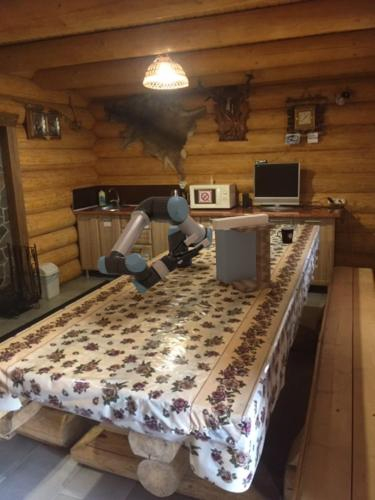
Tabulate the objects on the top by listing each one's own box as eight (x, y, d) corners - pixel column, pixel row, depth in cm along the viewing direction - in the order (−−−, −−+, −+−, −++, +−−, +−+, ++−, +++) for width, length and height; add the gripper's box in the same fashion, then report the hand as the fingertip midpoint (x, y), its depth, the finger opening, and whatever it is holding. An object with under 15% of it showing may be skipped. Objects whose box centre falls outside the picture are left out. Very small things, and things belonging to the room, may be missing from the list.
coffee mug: (292, 241, 291) (292, 226, 288) (294, 243, 282) (294, 229, 280) (275, 241, 292) (275, 227, 290) (277, 244, 284) (277, 229, 281)
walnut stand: (242, 292, 194) (240, 228, 187) (230, 285, 205) (229, 224, 198) (276, 286, 199) (276, 224, 192) (263, 279, 210) (262, 220, 203)
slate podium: (226, 283, 207) (224, 230, 201) (216, 277, 218) (214, 226, 212) (256, 278, 212) (256, 226, 206) (245, 272, 224) (244, 222, 217)
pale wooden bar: (217, 229, 187) (216, 220, 186) (212, 228, 191) (212, 219, 190) (268, 223, 195) (268, 214, 194) (262, 221, 200) (262, 213, 199)
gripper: (161, 266, 197) (196, 239, 200) (178, 280, 174) (218, 249, 178) (152, 253, 194) (188, 226, 198) (168, 266, 171) (209, 235, 175)
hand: (202, 237), depth 188 cm, fingers open, 13 cm apart
